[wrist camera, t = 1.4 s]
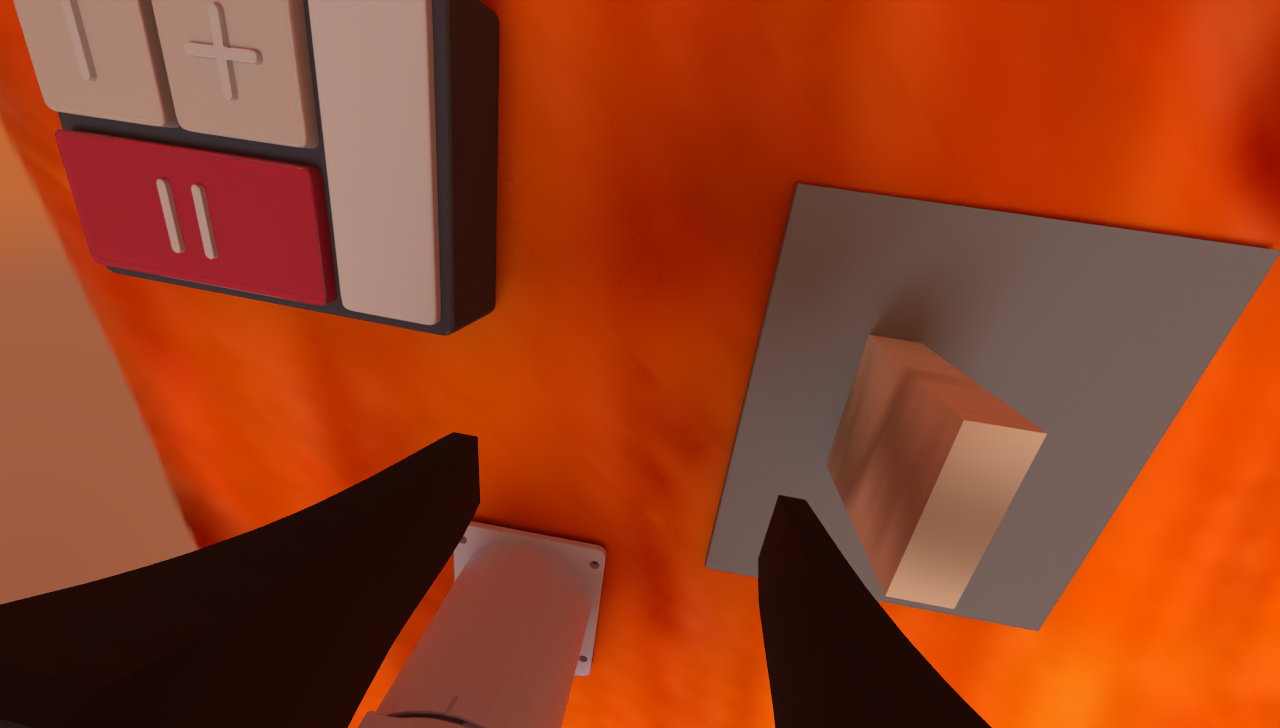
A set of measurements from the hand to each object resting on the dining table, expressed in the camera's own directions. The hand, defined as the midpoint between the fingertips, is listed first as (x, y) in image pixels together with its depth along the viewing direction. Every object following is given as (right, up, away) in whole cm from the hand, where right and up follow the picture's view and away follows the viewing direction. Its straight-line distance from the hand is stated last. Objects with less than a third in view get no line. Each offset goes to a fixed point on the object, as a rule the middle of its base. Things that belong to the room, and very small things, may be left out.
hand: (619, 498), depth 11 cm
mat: (+13, 0, +9) cm, 15 cm away
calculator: (-12, +12, +8) cm, 19 cm away
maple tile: (+10, +1, +8) cm, 13 cm away
